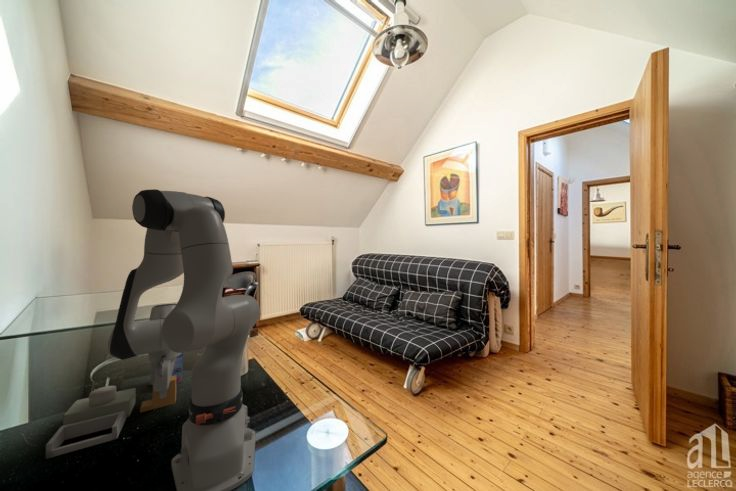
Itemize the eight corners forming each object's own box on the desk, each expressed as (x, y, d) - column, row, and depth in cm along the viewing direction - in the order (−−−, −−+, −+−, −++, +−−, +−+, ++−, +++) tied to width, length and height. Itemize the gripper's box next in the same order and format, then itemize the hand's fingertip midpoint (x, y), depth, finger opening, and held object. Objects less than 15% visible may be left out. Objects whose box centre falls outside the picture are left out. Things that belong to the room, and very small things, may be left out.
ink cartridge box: (183, 380, 104) (184, 344, 104) (170, 387, 99) (171, 349, 99) (163, 378, 106) (163, 342, 106) (149, 385, 101) (150, 347, 101)
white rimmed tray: (119, 438, 72) (119, 408, 72) (42, 459, 65) (43, 426, 65) (135, 402, 89) (135, 378, 89) (76, 416, 82) (76, 390, 82)
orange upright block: (175, 403, 88) (175, 379, 89) (140, 412, 84) (140, 387, 84) (176, 398, 92) (176, 375, 92) (142, 406, 87) (143, 381, 87)
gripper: (173, 360, 82) (173, 405, 81) (179, 341, 99) (178, 378, 99) (147, 364, 78) (146, 411, 78) (157, 344, 96) (157, 382, 95)
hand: (164, 392), depth 89 cm, fingers open, 5 cm apart
